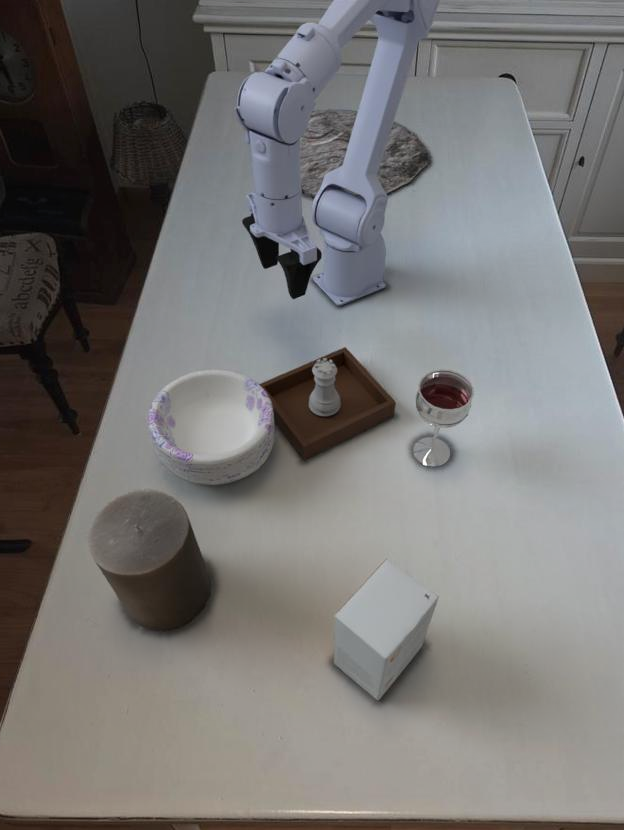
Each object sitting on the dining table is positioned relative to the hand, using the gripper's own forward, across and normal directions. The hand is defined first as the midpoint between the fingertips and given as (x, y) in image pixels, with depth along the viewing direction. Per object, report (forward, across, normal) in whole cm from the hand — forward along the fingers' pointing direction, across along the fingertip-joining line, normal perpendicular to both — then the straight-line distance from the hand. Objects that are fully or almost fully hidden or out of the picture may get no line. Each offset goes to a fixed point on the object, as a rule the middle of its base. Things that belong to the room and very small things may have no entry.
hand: (283, 280), depth 87 cm
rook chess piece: (+10, +15, -3) cm, 19 cm away
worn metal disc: (+10, -41, +37) cm, 56 cm away
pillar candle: (+11, +29, -33) cm, 45 cm away
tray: (+10, +15, -3) cm, 19 cm away
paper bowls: (+11, +14, -19) cm, 26 cm away
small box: (+11, +48, -17) cm, 52 cm away
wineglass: (+10, +29, +5) cm, 32 cm away
